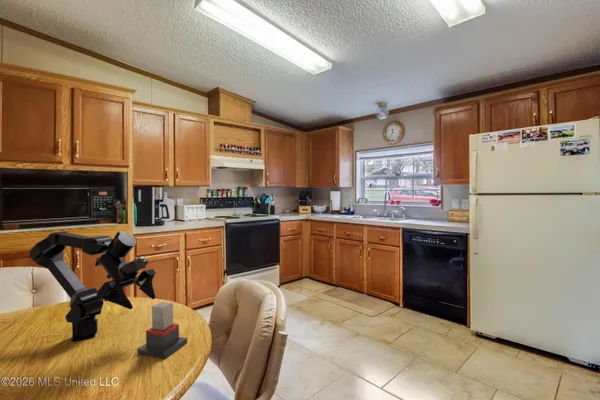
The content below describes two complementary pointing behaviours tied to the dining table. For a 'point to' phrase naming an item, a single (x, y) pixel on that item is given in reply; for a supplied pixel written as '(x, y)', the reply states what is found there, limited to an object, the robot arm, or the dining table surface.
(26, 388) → the dining table surface
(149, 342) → the stand
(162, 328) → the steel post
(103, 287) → the robot arm
